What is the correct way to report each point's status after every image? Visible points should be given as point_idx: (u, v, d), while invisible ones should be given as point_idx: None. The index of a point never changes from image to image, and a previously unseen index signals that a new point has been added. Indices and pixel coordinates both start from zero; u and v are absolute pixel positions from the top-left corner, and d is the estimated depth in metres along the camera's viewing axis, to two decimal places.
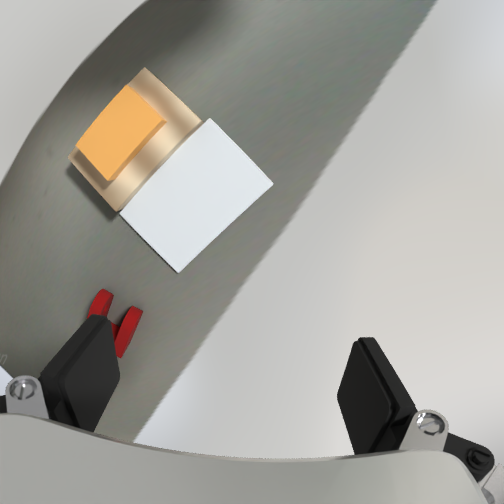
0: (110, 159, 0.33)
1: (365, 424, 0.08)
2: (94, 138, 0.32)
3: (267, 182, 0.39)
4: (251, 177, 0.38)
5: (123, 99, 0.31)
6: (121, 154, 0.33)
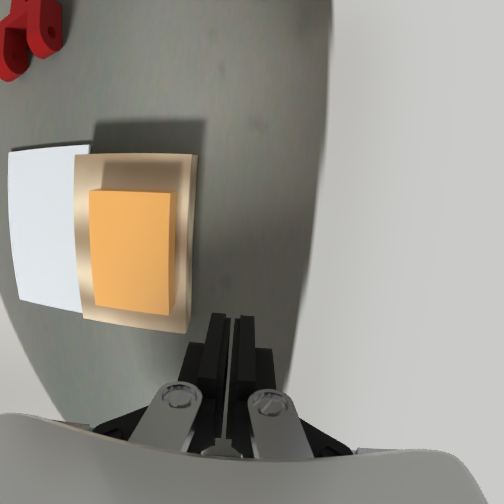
0: (104, 218, 0.22)
1: None
2: (148, 225, 0.22)
3: (22, 296, 0.29)
4: (30, 290, 0.29)
5: (154, 298, 0.24)
6: (98, 235, 0.22)
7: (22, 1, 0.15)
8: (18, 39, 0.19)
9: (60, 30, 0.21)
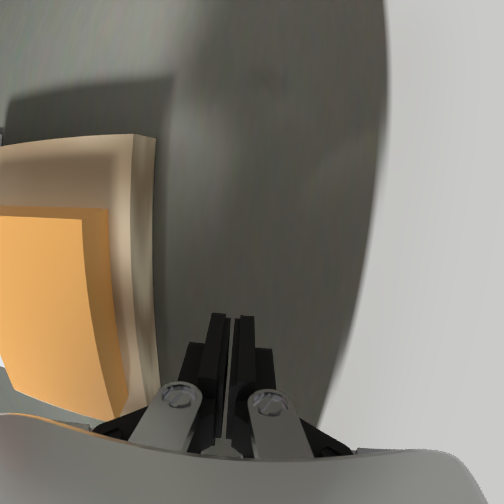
0: None
1: None
2: (52, 281, 0.10)
3: None
4: None
5: (88, 398, 0.12)
6: None
7: None
8: None
9: None
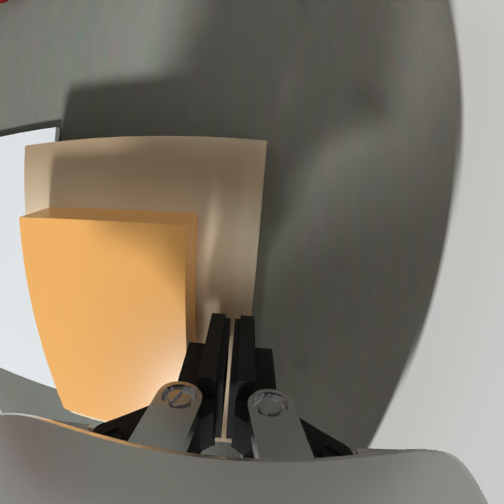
0: (51, 274, 0.10)
1: None
2: (139, 293, 0.10)
3: None
4: None
5: None
6: (45, 305, 0.10)
7: None
8: None
9: None
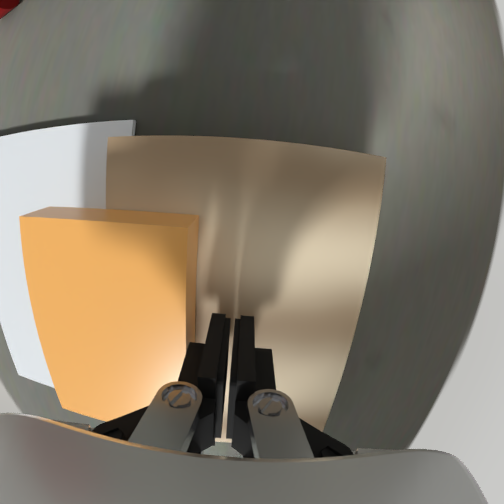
0: (51, 274, 0.10)
1: None
2: (139, 295, 0.10)
3: (23, 372, 0.17)
4: (34, 367, 0.17)
5: None
6: (44, 304, 0.10)
7: None
8: None
9: None
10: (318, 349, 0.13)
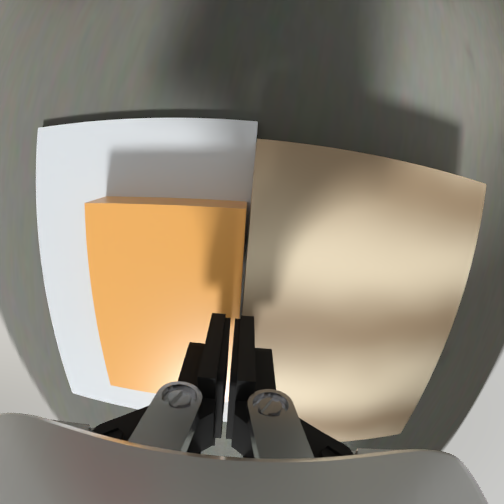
0: (115, 254, 0.12)
1: None
2: (201, 267, 0.12)
3: (79, 390, 0.17)
4: (96, 385, 0.17)
5: None
6: (106, 282, 0.13)
7: None
8: None
9: None
10: (423, 346, 0.13)
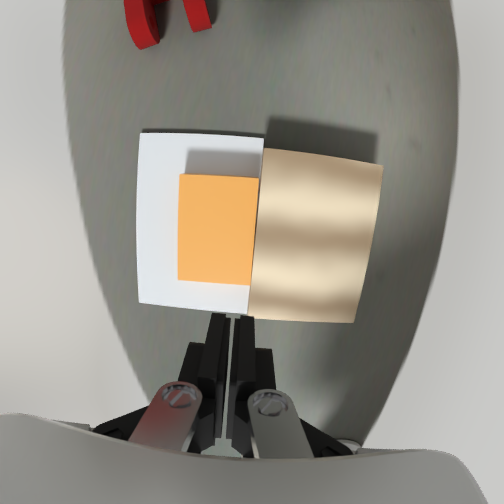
0: (194, 199, 0.26)
1: None
2: (237, 205, 0.27)
3: (145, 299, 0.32)
4: (159, 292, 0.31)
5: (238, 270, 0.28)
6: (187, 214, 0.27)
7: None
8: (150, 4, 0.21)
9: (206, 6, 0.23)
10: (354, 254, 0.28)
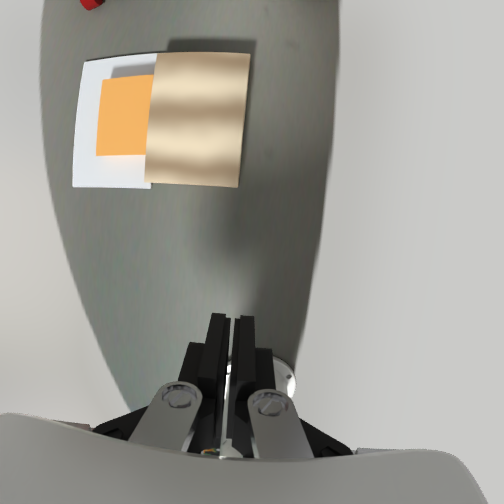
0: (110, 94, 0.30)
1: None
2: (138, 94, 0.31)
3: (76, 183, 0.36)
4: (87, 175, 0.35)
5: (137, 142, 0.32)
6: (105, 105, 0.31)
7: None
8: None
9: None
10: (229, 122, 0.32)
